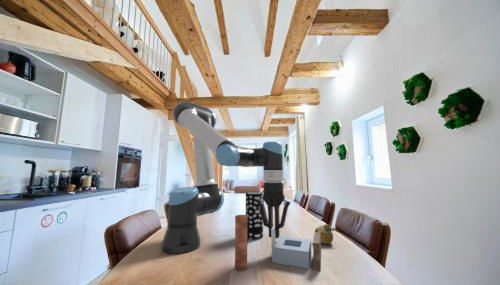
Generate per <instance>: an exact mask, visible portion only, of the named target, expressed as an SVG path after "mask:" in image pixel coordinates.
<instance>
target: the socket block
mask: <svg viewBox="0 0 500 285" xmlns="http://www.w3.org/2000/svg"><path fill="white" fill-rule="evenodd" d="M271 255H272V256H271V259H272V260H271V262H272V263H273V264H278V265H279V264H280V265H284V266H285V265H286V266H292V267H298V268H303V269H310V264H311V260H312V259H311V258H312V255H313V251H312V239H306V238H300V237H299V238H298V237H289V236H281V235H279V238H277V241H276V242H275V244H274V245H273V246H272V248H271Z"/></svg>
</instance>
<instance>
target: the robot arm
mask: <svg viewBox="0 0 500 285" xmlns="http://www.w3.org/2000/svg"><path fill="white" fill-rule="evenodd" d="M172 118H173V120H174V122H175V123H176V124H177V125H178V126H179V127H180V128H183V129H187V131H188V132H189V133H190V134H191V135H192V138H193V139H192V140H193V149H194V150H193V151H194V165H195V177H196V183H194V185H193V186H187V187H179V188H175V189H173V190H171V191H170V193H169V196H168V200H167V203H168V207H167V208H168V210H167V227H166V230H165V234H164V236H163V238H162V239H163V240H162V242H161V251H162V252H163V253H167V254H185V253H189V252H192V251H195V250H197V249H199V248H200V247H201V237H200V232H199V228H198V224H197V223H198V217H201V216H203V215H209V214H214V213H215V212H218V211H220V210H221V208H222V206H223V204H224V202H225V195H224V192H223V191H222V188H219V183H218V182H217V181H216V180H215V174H214V172H215V170H214V161H213V153H214V155H215V159H216V161H217V163H218V164H219V165H220V166H225V167H243V168H244V167H245V168H251V167H262V168H263V172H262V173H263V181H264V182H263V198H261V199H259V200H257V203H258V205H259V206H260V211H261V215H262V220H263V227H266V228H268V238H270V241H271V244H270V245H271V249H272V246H273V245H274V244H275V242H276V241H277V239H278V238H279V236H280V229H282V228H284V227H285V223H286V219H287V214H288V210H289V207H290V205H291V200H288V199H286V197H285V195H284V182H283V181H284V171H283V170H284V169H283V161H284V159H283V154H284V153H283V145H282V143H281V142H279V141H265V142H263V145H262V147H258V148H254V147H253V148H250V147H243V146H238V145H236V144H235V143H233V142H232V141H231V140H230V139H228V138H227V137H226V136H225V135H224V134H222V133H221V132H220V131H218V130H217V129H216V128H215V127H216V124H217V116H216V114H215V112H214V111H213V110H212V109H210V108H208V107H206V106H201V105H200V104H196V103H193V102H191V101H181V102H179V103H177V104H176V105H175V106H174V107H173V110H172ZM265 204H266V205H267V211H266V207H265ZM282 204H283V205H284V206H283V209H282V213H281V217H280V206H281V205H282ZM280 218H281V219H280Z"/></svg>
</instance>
